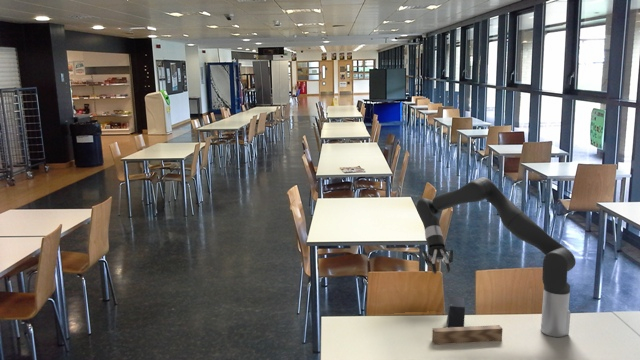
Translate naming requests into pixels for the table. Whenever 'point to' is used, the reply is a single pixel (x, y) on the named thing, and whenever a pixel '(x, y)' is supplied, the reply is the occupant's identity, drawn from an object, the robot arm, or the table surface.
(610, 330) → the table surface
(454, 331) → the walnut board
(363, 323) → the table surface
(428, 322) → the table surface
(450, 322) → the small box
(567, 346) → the table surface
